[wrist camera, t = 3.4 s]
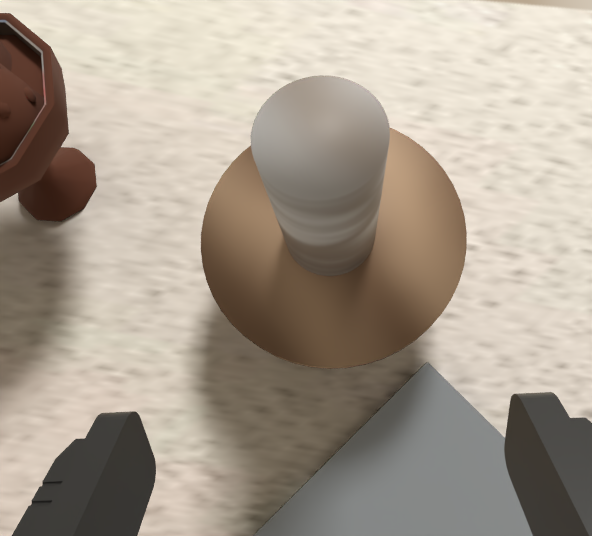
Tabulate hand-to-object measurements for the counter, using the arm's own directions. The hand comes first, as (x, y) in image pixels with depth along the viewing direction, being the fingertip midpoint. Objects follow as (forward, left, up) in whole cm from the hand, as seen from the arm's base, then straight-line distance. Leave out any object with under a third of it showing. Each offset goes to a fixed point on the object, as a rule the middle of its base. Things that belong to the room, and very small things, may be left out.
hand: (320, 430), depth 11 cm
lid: (+6, +6, -12) cm, 15 cm away
